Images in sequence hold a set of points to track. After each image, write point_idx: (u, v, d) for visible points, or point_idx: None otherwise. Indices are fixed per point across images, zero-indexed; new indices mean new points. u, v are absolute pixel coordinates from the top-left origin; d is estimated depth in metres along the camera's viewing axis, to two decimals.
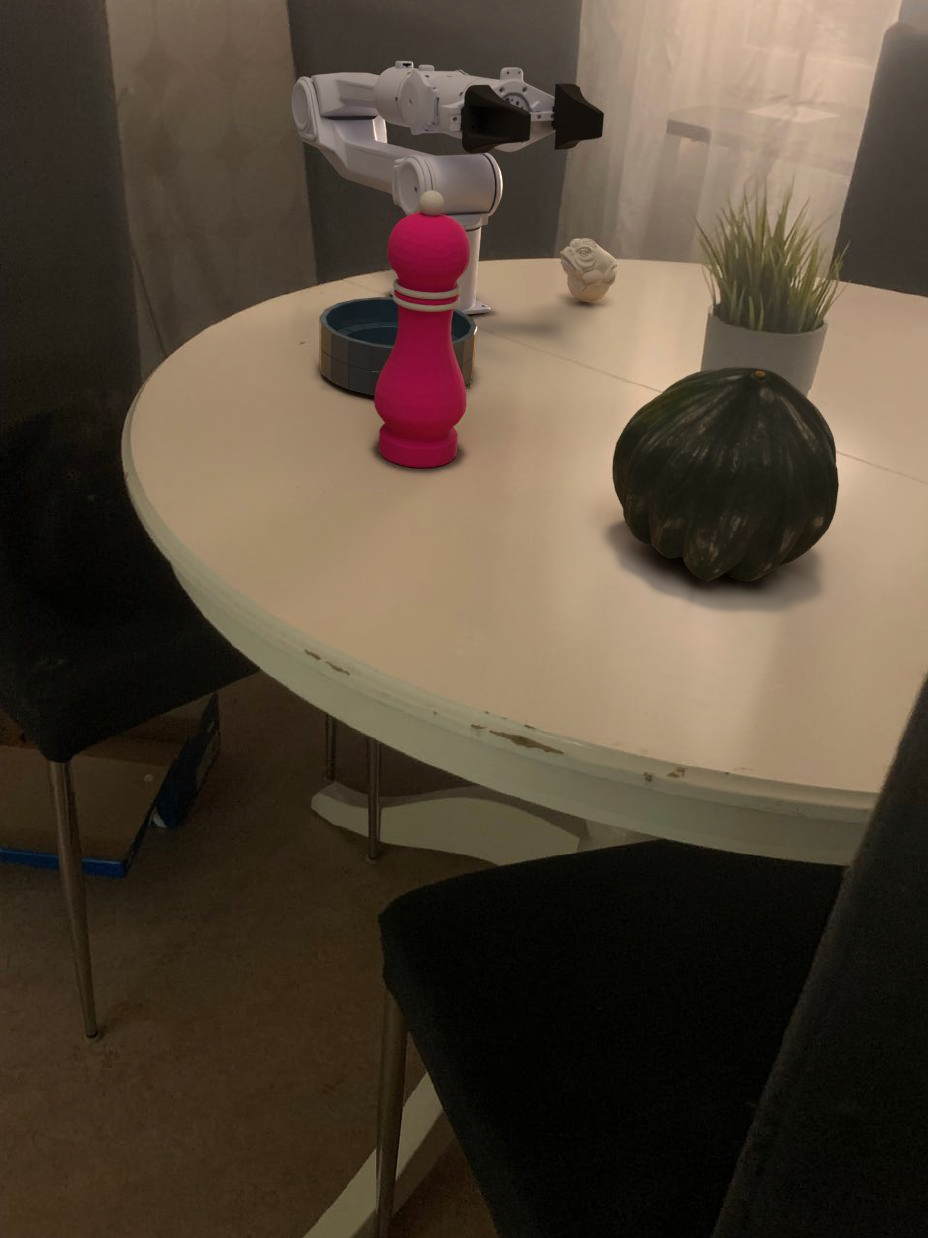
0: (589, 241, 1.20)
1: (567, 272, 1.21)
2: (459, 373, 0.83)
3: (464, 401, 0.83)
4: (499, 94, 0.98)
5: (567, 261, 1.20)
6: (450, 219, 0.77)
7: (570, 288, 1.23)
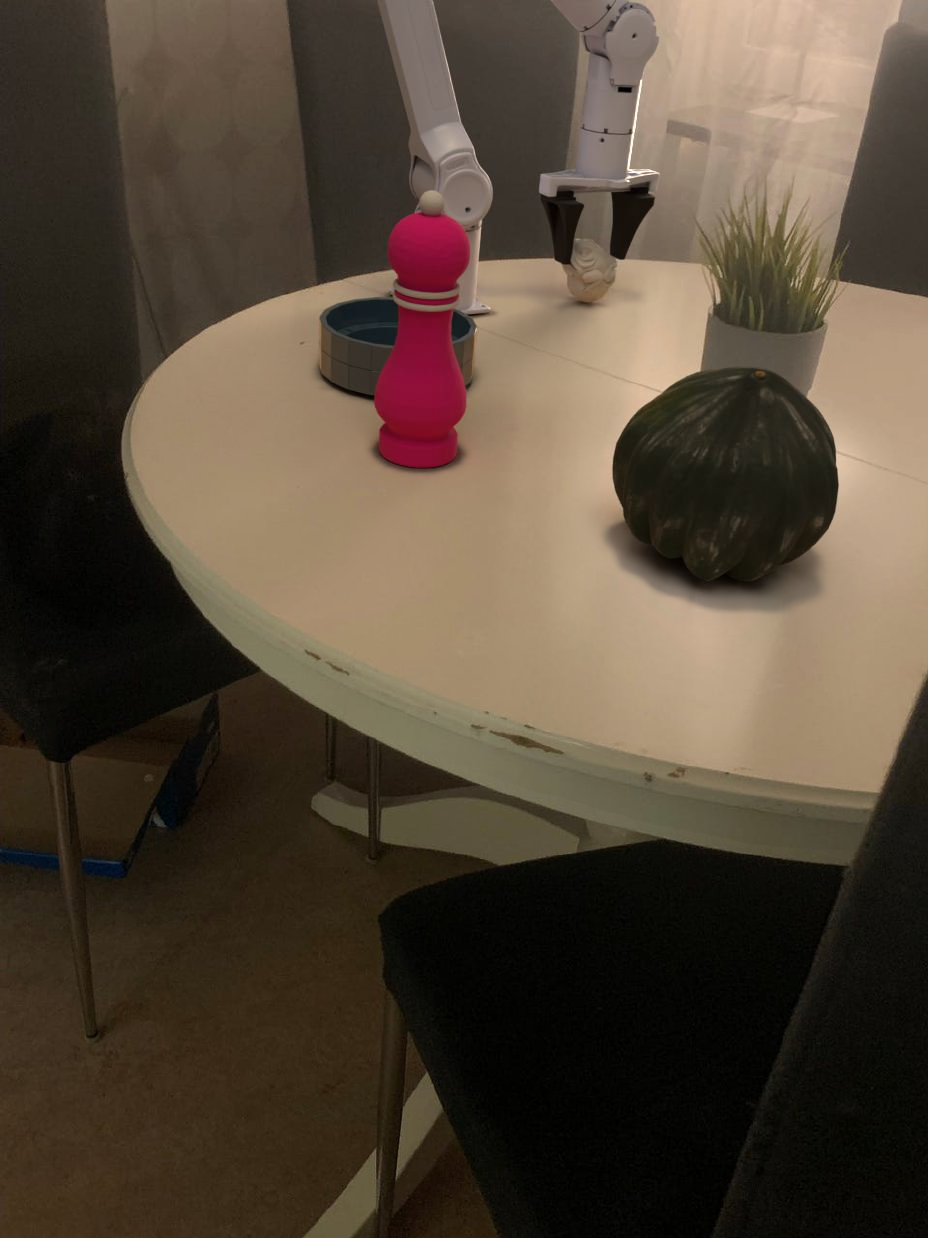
0: (589, 241, 1.20)
1: (567, 272, 1.21)
2: (459, 373, 0.83)
3: (464, 401, 0.83)
4: None
5: None
6: (450, 219, 0.77)
7: (570, 288, 1.23)
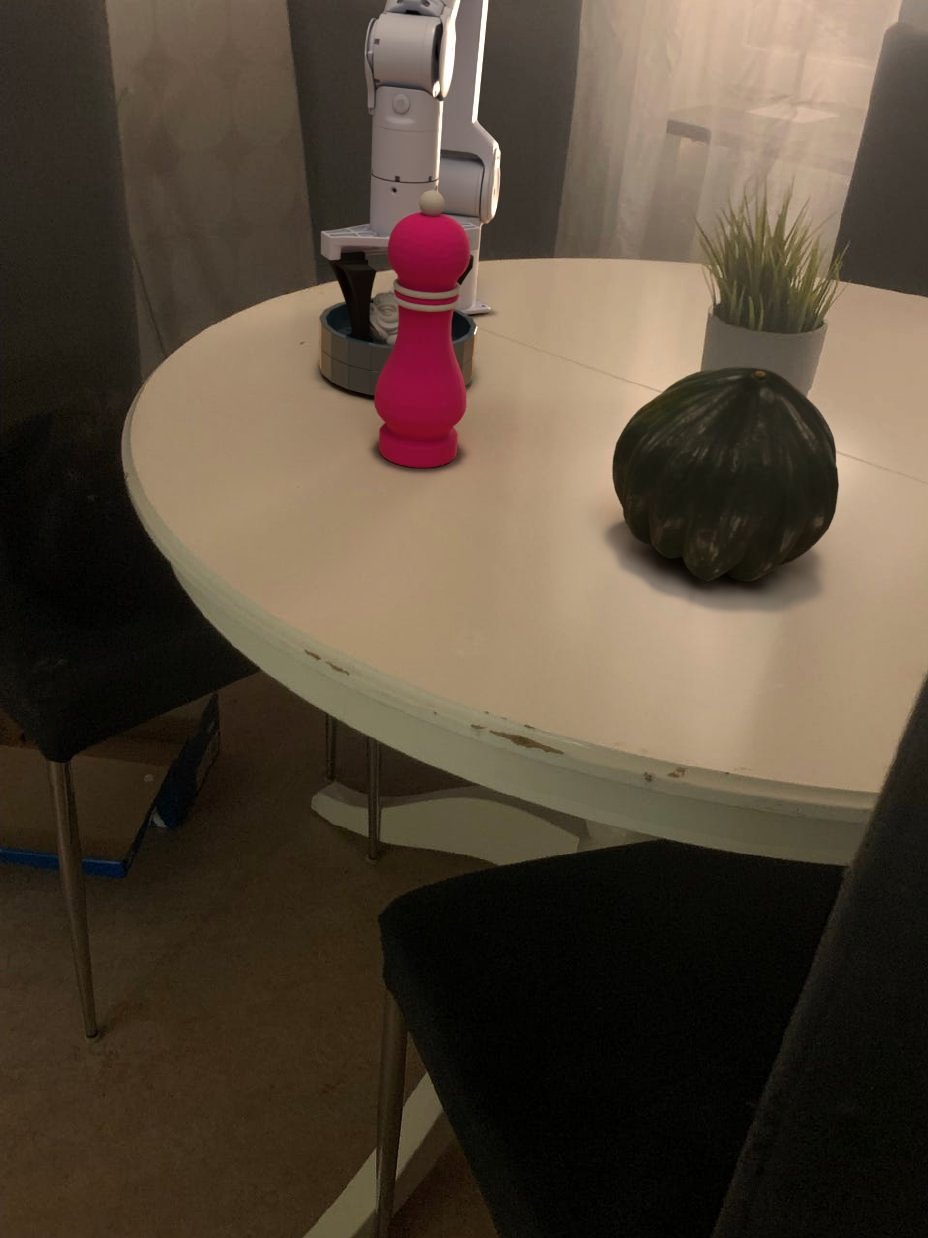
0: None
1: (370, 335, 0.97)
2: (459, 373, 0.83)
3: (464, 401, 0.83)
4: None
5: None
6: (450, 219, 0.77)
7: None
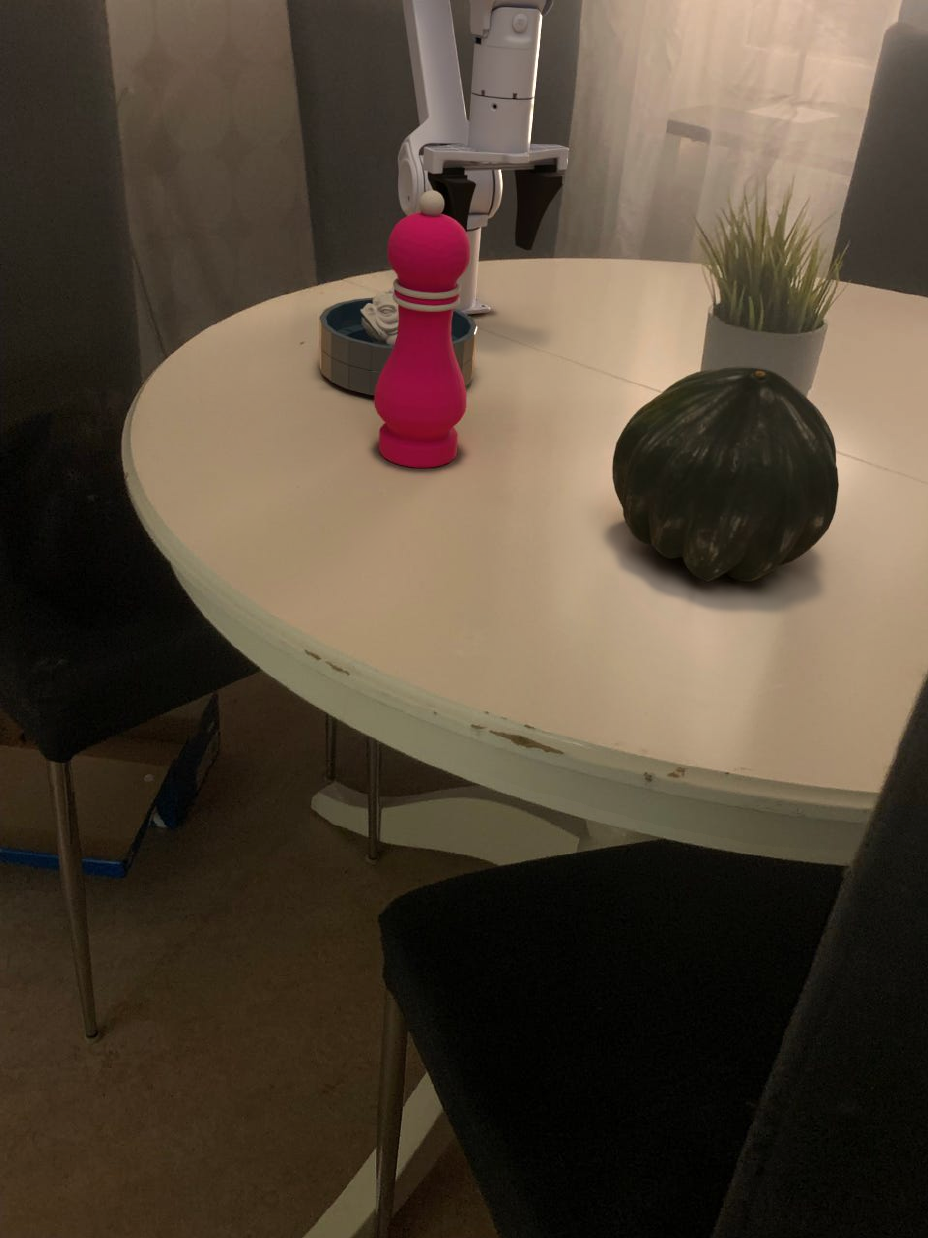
0: None
1: (369, 335, 0.97)
2: (459, 373, 0.83)
3: (464, 401, 0.83)
4: None
5: (367, 322, 0.96)
6: (450, 219, 0.77)
7: None
